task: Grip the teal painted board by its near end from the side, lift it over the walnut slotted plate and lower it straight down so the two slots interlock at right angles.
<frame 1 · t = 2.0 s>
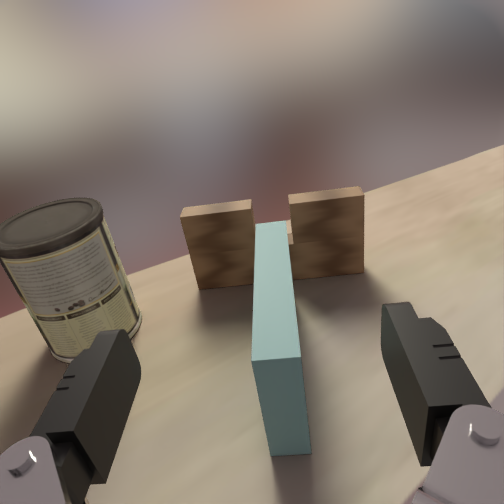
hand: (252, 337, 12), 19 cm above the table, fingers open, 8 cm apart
cross plate: (284, 361, 36), on the table
base plate: (279, 275, 48), on the table
coffee can: (97, 331, 44), on the table
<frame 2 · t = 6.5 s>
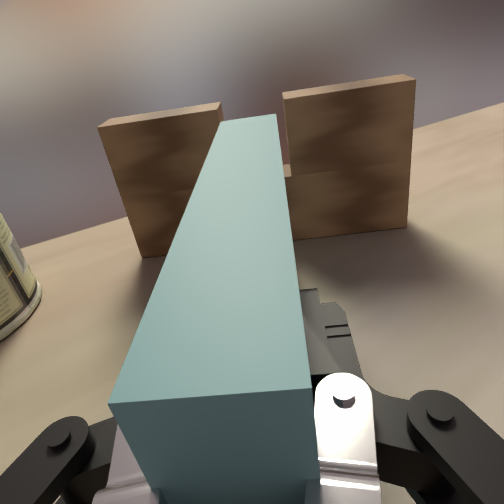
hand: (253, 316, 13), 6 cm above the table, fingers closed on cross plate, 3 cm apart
cross plate: (273, 377, 18), on the table, touching gripper
base plate: (269, 234, 30), on the table
when the fingers open (7 cm above the table, at t = 12.4 s): cross plate drops 1 cm, on the table.
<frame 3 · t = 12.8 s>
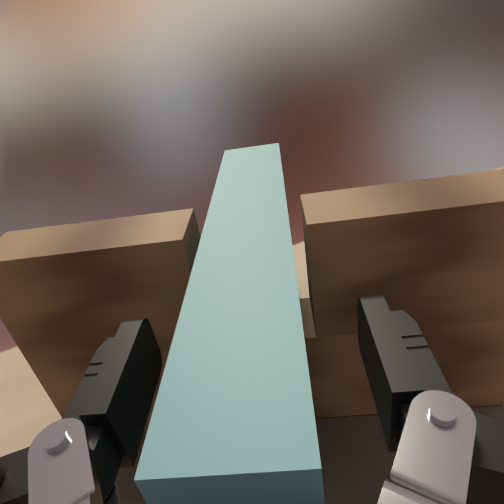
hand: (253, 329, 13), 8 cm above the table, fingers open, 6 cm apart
cross plate: (277, 403, 19), on the table
base plate: (276, 398, 19), on the table
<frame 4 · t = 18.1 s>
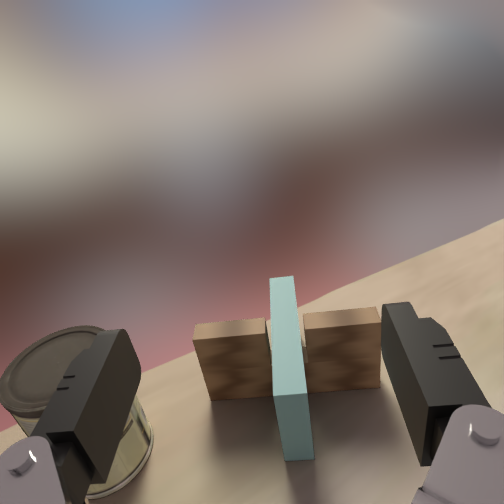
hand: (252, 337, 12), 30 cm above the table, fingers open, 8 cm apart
cross plate: (293, 387, 47), on the table
base plate: (292, 385, 47), on the table
coffee can: (108, 453, 43), on the table
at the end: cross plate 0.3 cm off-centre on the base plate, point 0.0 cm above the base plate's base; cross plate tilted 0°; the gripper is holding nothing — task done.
